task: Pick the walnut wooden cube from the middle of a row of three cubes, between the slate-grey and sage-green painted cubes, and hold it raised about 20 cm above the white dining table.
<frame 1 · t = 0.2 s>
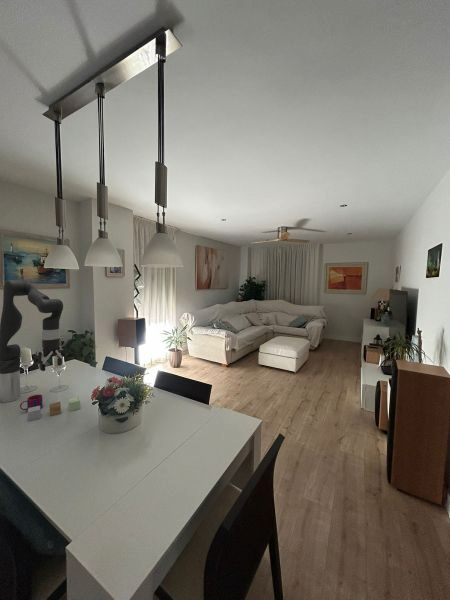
hand: (51, 368, 124), 28 cm above the table, fingers open, 8 cm apart
slate cube: (34, 417, 127), on the table
walnut cube: (55, 413, 132), on the table
sage cube: (74, 408, 137), on the table
mug: (31, 410, 134), on the table
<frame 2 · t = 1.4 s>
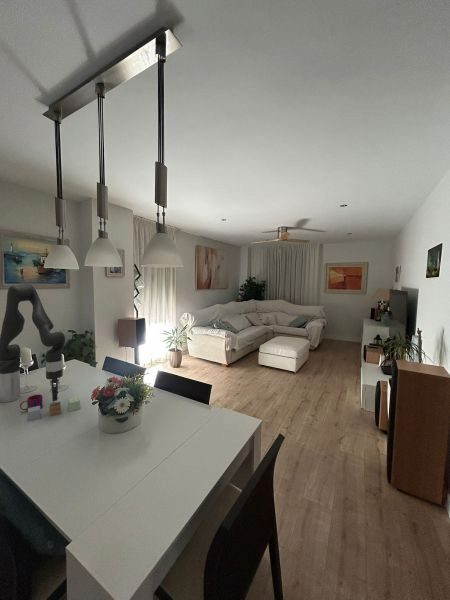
hand: (54, 397, 131), 9 cm above the table, fingers open, 8 cm apart
nothing on the table moved.
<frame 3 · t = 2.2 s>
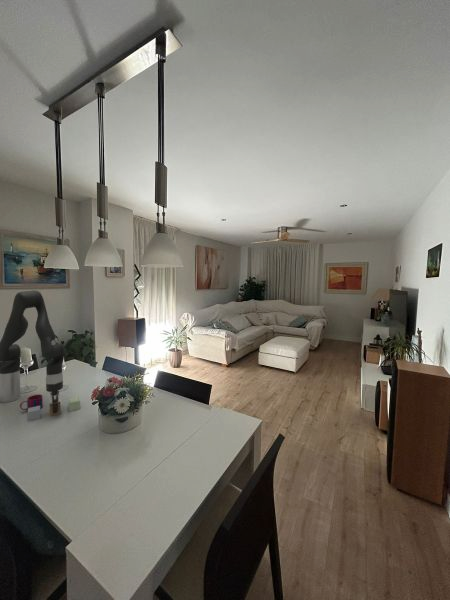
hand: (55, 409, 132), 2 cm above the table, fingers open, 8 cm apart
nothing on the table moved.
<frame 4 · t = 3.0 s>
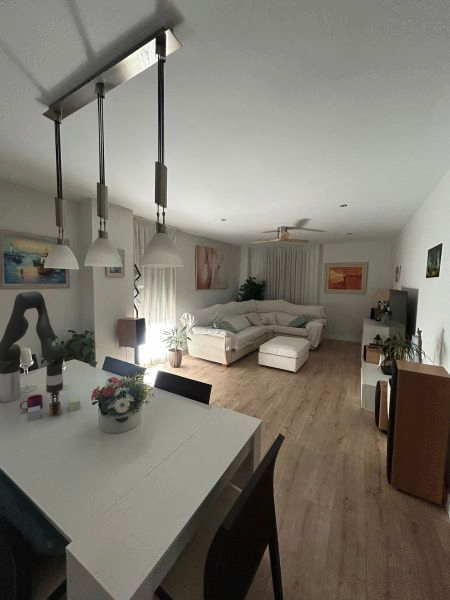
hand: (55, 411, 132), 1 cm above the table, fingers closed on walnut cube, 5 cm apart
walnut cube: (55, 412, 132), on the table, touching gripper
everything else where it was.
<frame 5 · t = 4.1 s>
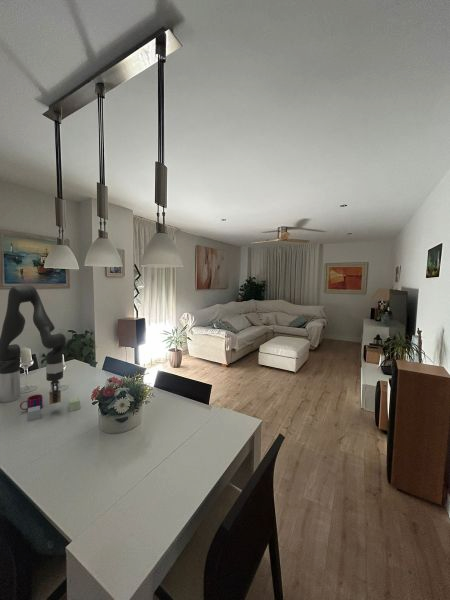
hand: (55, 400, 132), 7 cm above the table, fingers closed on walnut cube, 5 cm apart
walnut cube: (55, 401, 132), point 6 cm above the table, touching gripper
everything else where it was.
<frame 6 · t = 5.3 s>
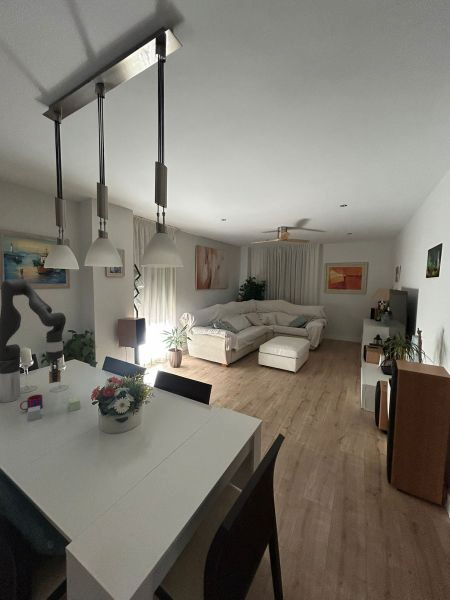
hand: (54, 379, 131), 19 cm above the table, fingers closed on walnut cube, 5 cm apart
walnut cube: (54, 380, 131), point 18 cm above the table, touching gripper
everything else where it was.
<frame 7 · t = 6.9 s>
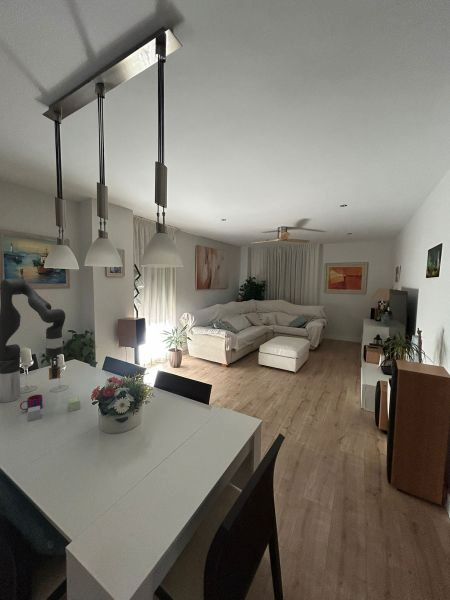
hand: (54, 376, 131), 21 cm above the table, fingers closed on walnut cube, 5 cm apart
walnut cube: (54, 377, 131), point 20 cm above the table, touching gripper
everything else where it was.
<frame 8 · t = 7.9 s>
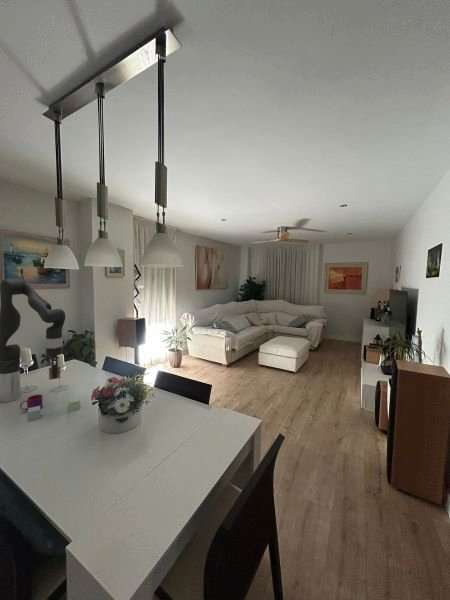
hand: (54, 376, 131), 21 cm above the table, fingers closed on walnut cube, 5 cm apart
walnut cube: (54, 377, 131), point 20 cm above the table, touching gripper
everything else where it was.
at the end: the gripper is holding walnut cube; walnut cube point 20.1 cm above the table; slate cube moved 0.1 cm from its start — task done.
